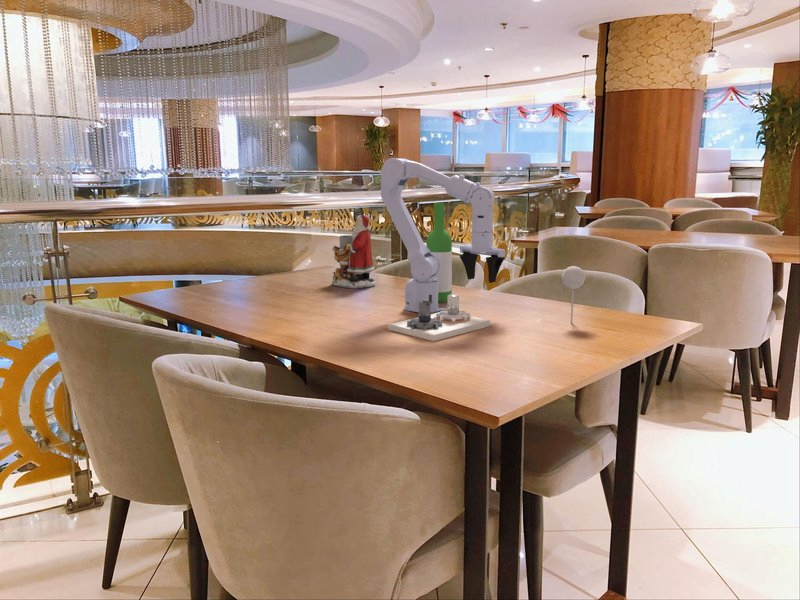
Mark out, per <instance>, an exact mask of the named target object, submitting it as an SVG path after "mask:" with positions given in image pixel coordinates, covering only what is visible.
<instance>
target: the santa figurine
mask: <svg viewBox="0 0 800 600" xmlns="http://www.w3.org/2000/svg"><path fill="white" fill-rule="evenodd" d="M355 218H356V219H355V220H356V221H355V223H354V227H353V229H352V233H351V235H348V234H347V235H346V234H345V235H339V237H338V238H339V245H338V246H336V245H333V247H332V248H331V249H332V251H333V254H334V260H335V261H336V262H337V263H338V264H339V267H336V269H334V270H335V271H333V272H332V274H333V276H332V280H331V284H332V286H335V287H338V288H339V287H340V288H344V289H345V288H346V289H351V290H352V289H354V290H355V289H362V288H363V289H365V288H372V287H375V286H376V284H377V281H376V280H375V279H374V278H370V273H371V271H374V270H375V265H374V261H373V257H372V254H373V253H372V238H371V230H372V228H371V226H370V219H369V217H368V215H367V216H366V215H363V214H359V215H356V217H355Z"/></svg>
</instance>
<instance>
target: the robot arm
mask: <svg viewBox="0 0 800 600" xmlns="http://www.w3.org/2000/svg"><path fill="white" fill-rule="evenodd" d="M379 174H380V197H381V199H382V202H383V203H384V204H383V205H384V206H385V208H386V209H387V211H388V213H389V216H390V218H391V220H392V222H393V225H394V227H395V228H396V230H397V232H398V234H399V237H400V238H401V240H402V243H403V245H404V246H405V249H406V251H407V253H408V254H407V255H408V256H407V259H408V262H409V264H410V274H411V275H412V278H410V279H409V280H408V281H406V283H405V287H404V307H403V308H402V309H403V310H405V311H408V312H412V313H413V312H414V313H418V314H419V302H421V301H423V300H429V295H430V294H431V295H432V304H431V314H434V313H439V312H440V311H446V310H445V308H444V307H439V303H438V277H437V276H436V274H437V272H438V271H439V268H440V263H439V261H438V259H437V258H436V257H435V256H433V255H432V253H431V251H430V250H429V248H428V247H427V246H426V243H424V241H423V238H422V237H421V234H420V232H419V231H418V228H417V226H416V224H415V222H414V220H413V218H412V216H411V213H410V211H409V209H408V208H407V205H406V204H405V201H404V199H403V197H402V195H401V194H402V191H403V189H404V187H405V185H406V183H407V182H408V181H409V180H410V179H412V178H419V179H421V180H425V181H427V182H428V183H432V184H435V185H436V186H440V187H442V188H444V189H445V192H446V194H447V195H449V196H451V197H453V198H455V199H457V200H459V201H462V202H464V203H467V204H469V203H470V205H471V207H472V215H471V245H467V244H466V245H465V244H463V245H460V246H459V253H461V254H460V255H459V258H460V260H461V262H462V264H463V266H464V269H465V273H466V276H467V280H469V281H470V280H474V279H475V277H476V265H477V264H476V263H477V259H478V256H479V255H481V256H486V257H485V260H486V263H487V264H486V265H487V270H488V277H487V279H488V283H489V284H492V283H496V282H497V278H498V277H497V276H498V274H499V271H500V268H501V266H502V264H503V262H504V261H505V257H506V249H503V248H497V247H493V237H494V236H493V233H494V231H493V230H494V228H493V226H494V214H493V212H494V208H493V204H494V202H495V198H496V196H495V193H494V191H493V190H492V189H491V188H489V187H488V186H485V185H483V186H481V183H480V182H479V181H478V182H473V181H471V180H469V179H467V178H465V175H464V174H459V175H457V174H455V175H452V176H448V175H446V174H443V173H442V172H441V171H440V172H439V171H438V170H435V169H433V168H431V167H429V166H427V165H425V164H423V163H420V162H417V161H414V160H409V159H407V158H404V157H400V158H397V157H390V158H388V159H386V160H385V162H384V163H383V165H382V167H381V169H380V172H379Z"/></svg>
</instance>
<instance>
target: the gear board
mask: <svg viewBox="0 0 800 600" xmlns="http://www.w3.org/2000/svg"><path fill="white" fill-rule="evenodd" d="M436 313H437V312H433V313H431V318H433V319H434V318H436ZM438 313H440V311H438ZM414 318H415V319H417V318H419V316H418V317H414ZM411 319H412V318H410V319H409V318H408V319H405V320H401V321H395V322H392V323H388V331H391V332H397V333H400V334H404V335H408V336H412V337H416V338H420V339H424V340H428V341H432V342H436V341H440V340H442V339H443V340H444V339H446V338H450V337H454V336H459V335H461V334H465V333H466V334H467V333H469V332H472V331H473V332H474V331H476V330H481V329H484V328H488V327H491V320H490V319H486V318H485V319H484V318H480V317H476V316H471V315H470V319H467V321H455V322H452V321H442V326H439V329H427V330H423V329H411V326H407V321H411ZM438 320H439V321H440V319H438Z"/></svg>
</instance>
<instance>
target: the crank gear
mask: <svg viewBox="0 0 800 600" xmlns="http://www.w3.org/2000/svg"><path fill="white" fill-rule="evenodd" d="M431 304H432V295H431V294H430V295H429V300H423V301H421V302H419V313H418V317H419V318H417V317H413V318H410V319H411V321H407V326H411V329H423V330H427V329H439V326H442V321H439V320H438V318H434V319H433V318H431V314H432V313H431ZM415 318H417V319H415Z"/></svg>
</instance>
